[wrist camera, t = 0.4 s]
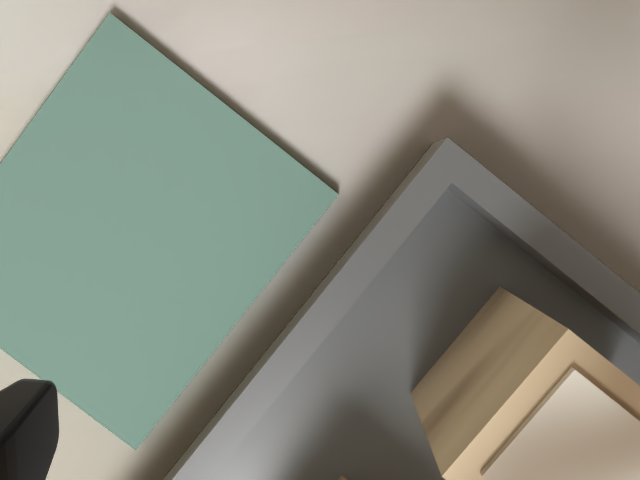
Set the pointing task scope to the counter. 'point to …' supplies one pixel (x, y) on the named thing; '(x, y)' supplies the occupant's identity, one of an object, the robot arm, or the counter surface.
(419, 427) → the charcoal bin
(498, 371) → the labelled block
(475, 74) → the counter surface
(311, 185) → the green mat
